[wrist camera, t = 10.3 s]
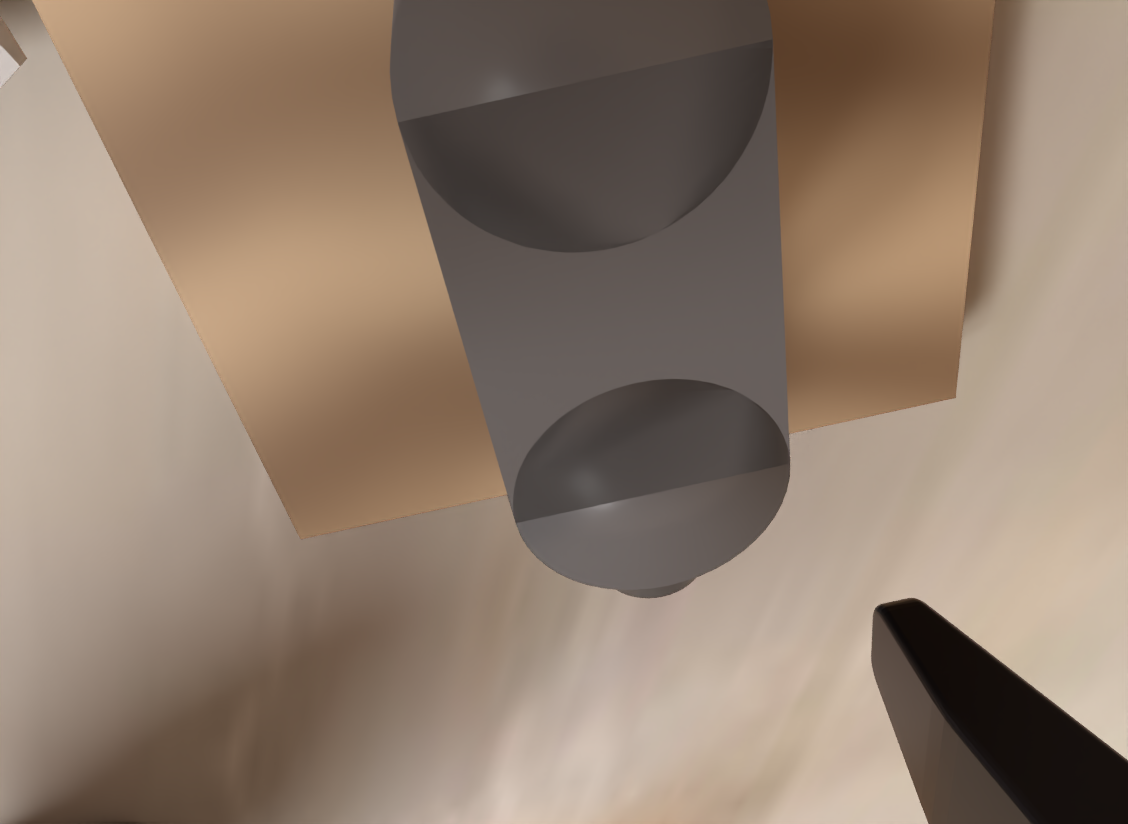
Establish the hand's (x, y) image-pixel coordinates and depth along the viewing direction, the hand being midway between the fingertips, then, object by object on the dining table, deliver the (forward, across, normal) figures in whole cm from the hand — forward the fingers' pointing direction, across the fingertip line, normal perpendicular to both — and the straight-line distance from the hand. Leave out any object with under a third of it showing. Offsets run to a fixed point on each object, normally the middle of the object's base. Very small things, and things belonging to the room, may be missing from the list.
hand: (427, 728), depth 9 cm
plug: (+9, -3, -2) cm, 10 cm away
